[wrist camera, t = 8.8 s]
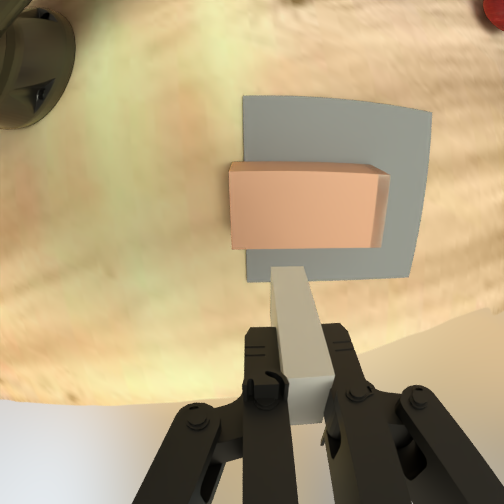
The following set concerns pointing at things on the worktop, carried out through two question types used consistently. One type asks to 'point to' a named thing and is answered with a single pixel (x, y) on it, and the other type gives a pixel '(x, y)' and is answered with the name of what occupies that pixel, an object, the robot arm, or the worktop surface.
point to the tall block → (307, 205)
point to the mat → (344, 151)
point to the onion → (495, 12)
